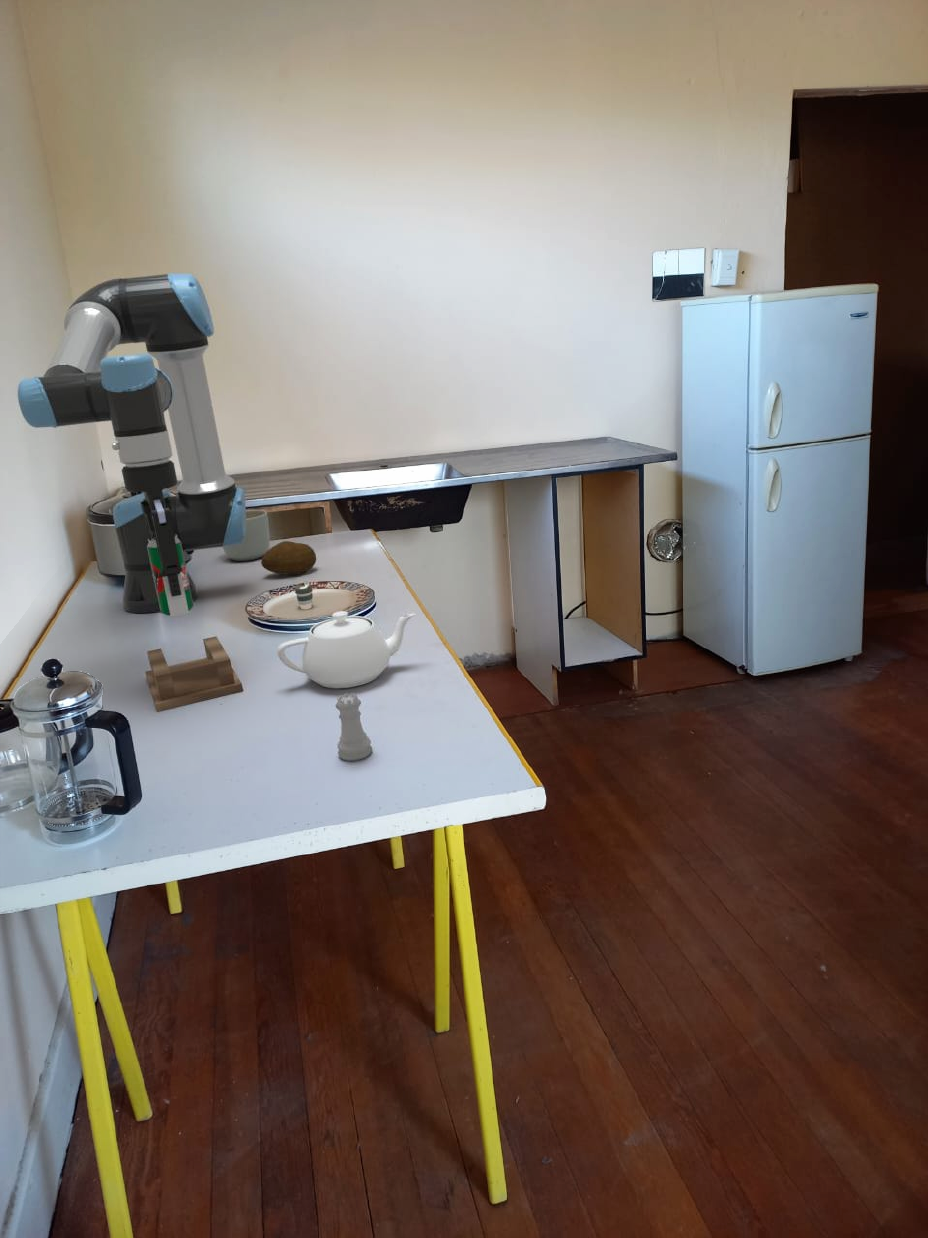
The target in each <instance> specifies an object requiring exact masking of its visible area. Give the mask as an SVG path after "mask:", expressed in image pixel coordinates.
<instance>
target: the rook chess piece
mask: <svg viewBox="0 0 928 1238" xmlns="http://www.w3.org/2000/svg"><path fill="white" fill-rule="evenodd" d="M343 696H344V697H343ZM336 699H337V702H336V704H335V708H336V709H337V710H338V711H339V716H338V718H339V719H340V722H341V724H340V726H341V731H340V732H341V733H340V736H339V741H338V742H337V746H336V747H337V749H338V751H337V754H338V757H340V759H342V760H344V761H349V762H356V761H361V760H363V759H365V758H367V757H368V756H370V754H371V752H372V750H373V747H372V745H371V744H372V742H371V740H370V737H369V736H367V733H366V732H365V731H364V728H363V724H362V722H361V715H362V713H361V711H360V709H359V708H360V706H361V705H362V702H361V700H360V699H359V698H358V695H357V694H355V693H353V692H351V693H350V696H349V693H343V695H341V694H340V695H339V696H338V698H336Z"/></svg>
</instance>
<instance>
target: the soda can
mask: <svg viewBox="0 0 928 1238" xmlns="http://www.w3.org/2000/svg"><path fill="white" fill-rule="evenodd" d="M174 537H175V542H176V547H177V552H178V557H179V562H180V566H181V568H182V569H181V570H182V571H181V572H180V573H181V576H182V581H183V586H184V591H185V596H186V601H187V606H188V611H189V612H190V611H191V610H192V609H193V608H194V601H193V600H192V595H191V590H190V585H189V580H188V575H187V572H188V570H187V565H186V559H185V555H184V551H183V549H182V544H181V541H180V540H179V539H178V538H177V535H176V534H174ZM148 541H149V543H148V545H147V550H148V555H149V559H150V564H151V569H152V573H153V578H154V583H155V588H156V592H157V597H158V602H159V607H160V611H159V612H160V613H162V614H163V615H165V616H170V611H169V606H168V602H167V597H166V592H165V587H164V582H163V578H162V577H160V578H159V576H158V574H159V573H162V566H161V562H160V558H159V553H158V549H157V544H156V540H155V537H152V538H149V539H148ZM171 566H172V565H171ZM170 617H171V616H170Z"/></svg>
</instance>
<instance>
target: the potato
mask: <svg viewBox="0 0 928 1238" xmlns="http://www.w3.org/2000/svg"><path fill="white" fill-rule="evenodd" d="M316 562H317V555H316V552H315V550H314V549H313V548H312V547H311V546H310V545H308V544H306V543H300V542H294V541H291V540H290V541H288V540H286V541H285V540H283V541H281V542H279V543H276V544H275V545H273V546H272V547H271V548H269V549H268V551H267V553H266V554H265V555H264V556H262V557H261V562H260V564H261V566H262V567H263V568H264V569H265V570H267V571H269V572H271V573H274V574H281V575H290V576H291V575H293V576H294V575H301V574H304V573H306V572H308V571H310V570H311V569H312V568H313V567H314V566H315V564H316Z"/></svg>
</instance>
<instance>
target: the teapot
mask: <svg viewBox="0 0 928 1238" xmlns="http://www.w3.org/2000/svg"><path fill="white" fill-rule="evenodd" d="M415 615H416V613H408V614H405V615H402V616H400V617H399V619H398V620H397V622H396V624H395V628H394V632H393V633H392V635H391V636H390V637H388V638H387V639H385V637H384V635H383V633H382V632H381V630H380V628H379V627H378V626H377V623H375V621H374V620H373V619H371V618H369V617H365V616H359V615H349V613H348V611H345V610H342V611H341V610H340V611H334V612H333V613H332V615H331V617H332V618H329V619H326V620H322V621H320V622H317V623H316V624H314V625H313V626H312V627H311V628H310V629H309V631H308V633H307V636H306V637H302V638H296V639H291V640H287V641H285V642H282V643H281V644H279V645H278V647H277V656H278V658H279V660H280V661H281V663H282V664H284V665H285V666H286V667H288V668H289V669H292V670H293V671H295V672H296V671H297V672H299V673H302V674H306V676H307V678H309V679H311V680H312V681H314V683H316V684H318V685H320V686H322V687H325V688H329V689H348V688H349V689H350V688H353V687H358V686H363V685H365V684H368V683H370V682H373V681H374V680H376V679H377V678H378V677H380V675H381V673H383V671H385V669H386V668H387V667H388V665H389V663H390V659H391V657H392V656H394V655H395V654H396V653H397V652H398V651H399V650H400V647H401V645H402V643H403V639H404V638H403V637H404V632H405V628H406V625H407V623H408V621H409V620H410V619H412V618H413V617H414V616H415ZM299 645H304V646H303V651H302V658H301V659H302V660H301V662H302V666H301V665H298V664H296V663H294V662H293V661H291V660H290V659H289V658H288V656H287V655H286V653H285V650H286V649H288V648H290V647H294V646H299Z"/></svg>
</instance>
